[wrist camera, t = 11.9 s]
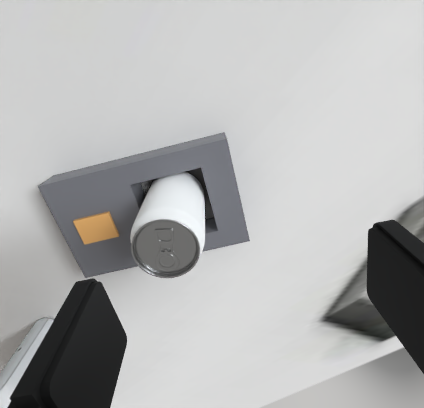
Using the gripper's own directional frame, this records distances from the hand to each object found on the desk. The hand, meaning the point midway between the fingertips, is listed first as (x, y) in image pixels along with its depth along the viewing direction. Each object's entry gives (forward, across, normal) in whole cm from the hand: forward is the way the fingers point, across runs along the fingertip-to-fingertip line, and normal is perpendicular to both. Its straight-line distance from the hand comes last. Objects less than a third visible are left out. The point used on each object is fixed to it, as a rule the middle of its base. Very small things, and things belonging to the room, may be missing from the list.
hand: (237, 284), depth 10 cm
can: (+24, +6, +6) cm, 26 cm away
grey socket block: (+24, +8, +6) cm, 26 cm away
